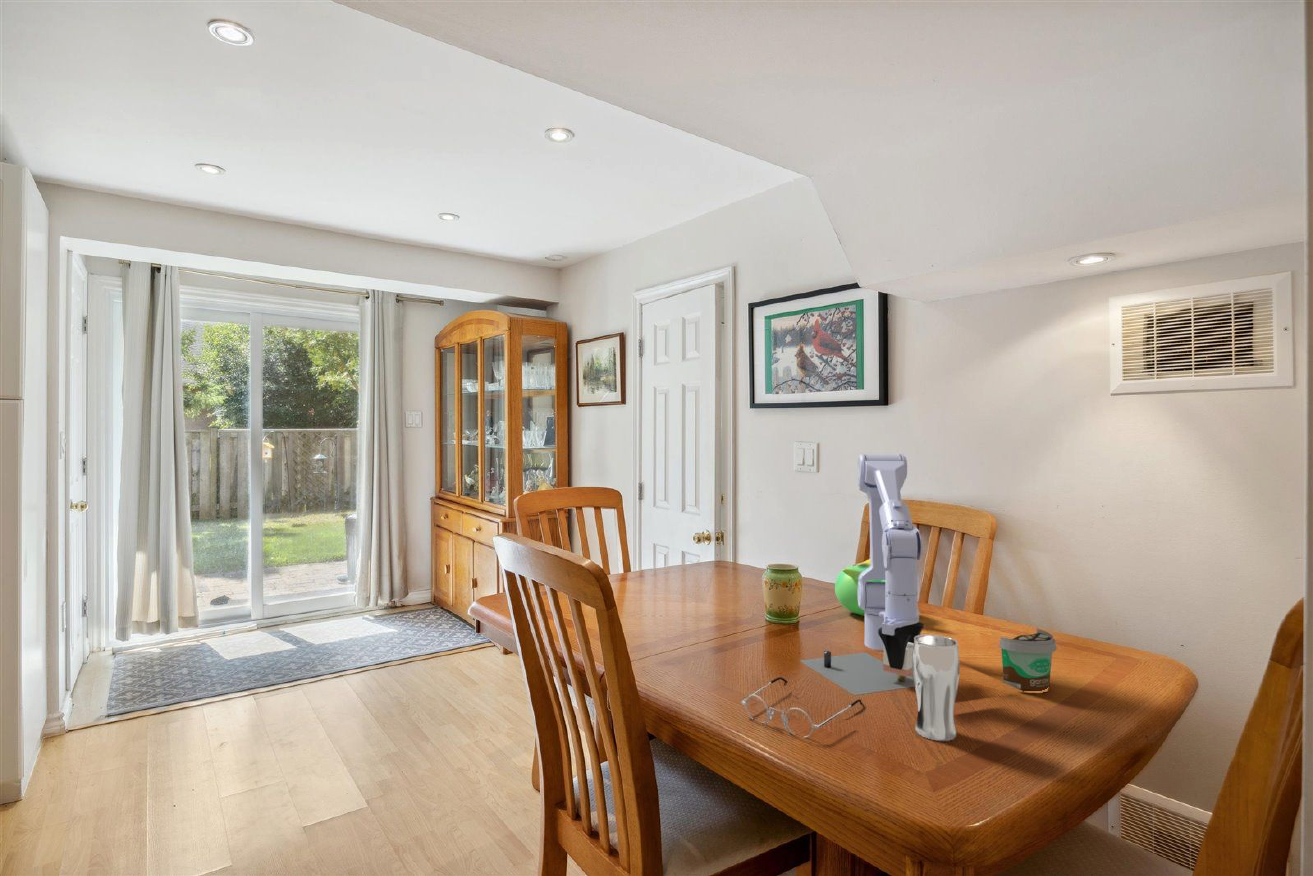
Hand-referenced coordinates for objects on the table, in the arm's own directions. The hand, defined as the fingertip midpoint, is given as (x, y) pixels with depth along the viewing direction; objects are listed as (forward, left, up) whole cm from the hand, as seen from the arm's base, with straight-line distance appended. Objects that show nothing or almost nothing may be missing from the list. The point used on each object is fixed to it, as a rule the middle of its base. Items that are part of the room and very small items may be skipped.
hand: (901, 664), depth 123 cm
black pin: (+9, -11, -3) cm, 15 cm away
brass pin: (0, 0, -3) cm, 3 cm away
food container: (-24, +8, -5) cm, 26 cm away
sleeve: (0, 0, -1) cm, 1 cm away
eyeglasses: (+23, +4, -5) cm, 24 cm away
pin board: (+5, -6, -5) cm, 9 cm away
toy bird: (-26, -45, -5) cm, 52 cm away
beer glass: (+7, +17, -5) cm, 19 cm away
